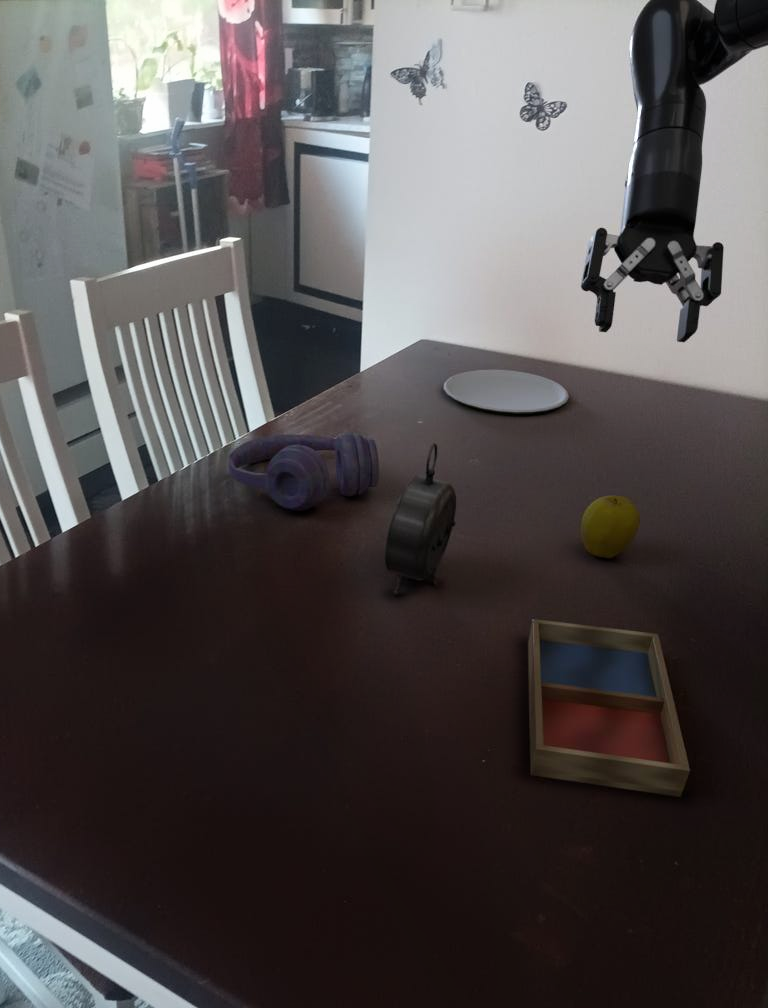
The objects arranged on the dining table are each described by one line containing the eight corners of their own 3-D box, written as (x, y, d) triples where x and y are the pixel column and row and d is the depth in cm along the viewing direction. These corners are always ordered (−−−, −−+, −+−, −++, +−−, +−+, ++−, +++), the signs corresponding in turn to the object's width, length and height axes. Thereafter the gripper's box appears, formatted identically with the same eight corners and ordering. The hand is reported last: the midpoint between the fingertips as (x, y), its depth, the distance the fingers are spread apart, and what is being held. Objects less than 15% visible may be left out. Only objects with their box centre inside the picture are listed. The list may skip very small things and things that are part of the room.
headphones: (401, 493, 119) (315, 463, 134) (400, 431, 115) (312, 408, 130) (285, 526, 110) (208, 491, 126) (280, 461, 107) (201, 432, 122)
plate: (417, 393, 153) (418, 386, 152) (491, 368, 165) (492, 361, 164) (519, 428, 140) (520, 420, 140) (592, 398, 152) (593, 390, 151)
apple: (591, 570, 104) (605, 508, 99) (565, 544, 109) (578, 484, 104) (641, 565, 105) (658, 503, 100) (614, 540, 110) (629, 479, 106)
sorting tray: (650, 658, 90) (658, 633, 88) (680, 797, 73) (690, 770, 72) (527, 643, 91) (532, 618, 90) (530, 775, 75) (536, 748, 74)
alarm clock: (411, 554, 107) (425, 422, 97) (455, 564, 105) (474, 431, 95) (378, 597, 98) (389, 458, 89) (424, 609, 96) (441, 468, 87)
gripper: (608, 160, 94) (590, 313, 93) (745, 176, 94) (727, 330, 93) (585, 197, 101) (568, 339, 101) (711, 213, 101) (695, 355, 101)
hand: (644, 334), depth 97 cm, fingers open, 8 cm apart
